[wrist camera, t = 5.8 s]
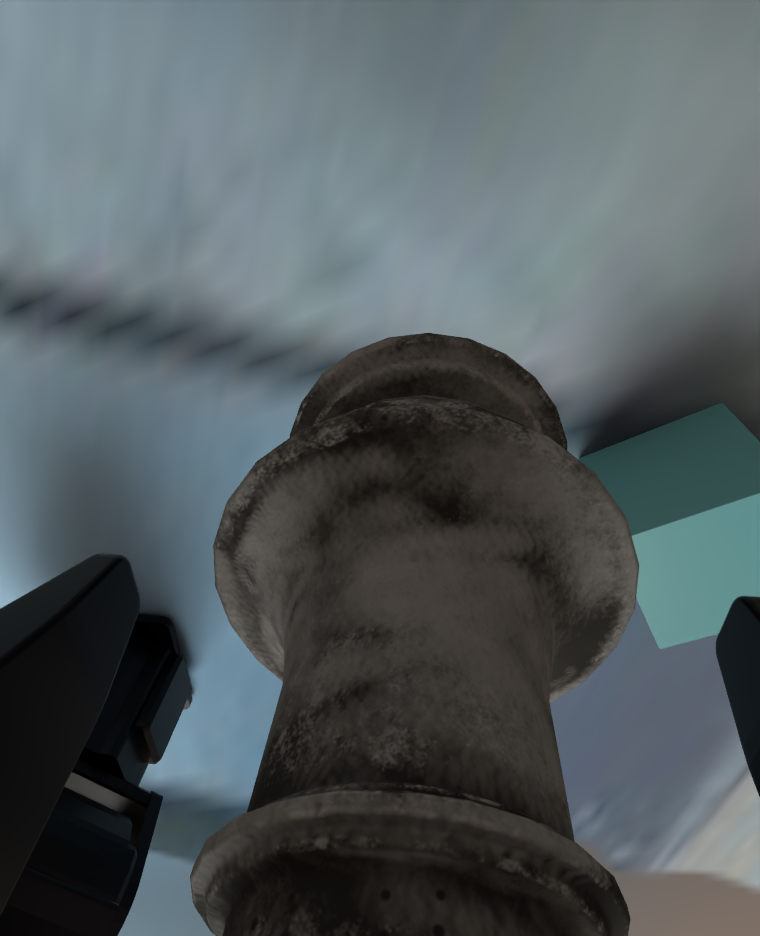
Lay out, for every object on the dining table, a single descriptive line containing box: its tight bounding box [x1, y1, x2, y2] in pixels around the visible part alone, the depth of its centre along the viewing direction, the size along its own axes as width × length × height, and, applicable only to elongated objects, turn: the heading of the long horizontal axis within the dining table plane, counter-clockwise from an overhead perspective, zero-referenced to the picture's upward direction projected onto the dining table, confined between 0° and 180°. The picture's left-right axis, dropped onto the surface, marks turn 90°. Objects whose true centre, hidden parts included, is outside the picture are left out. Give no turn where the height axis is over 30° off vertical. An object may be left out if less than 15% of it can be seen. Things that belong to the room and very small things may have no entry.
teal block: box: [579, 403, 760, 649], centre depth 19 cm, size 5×5×5 cm
